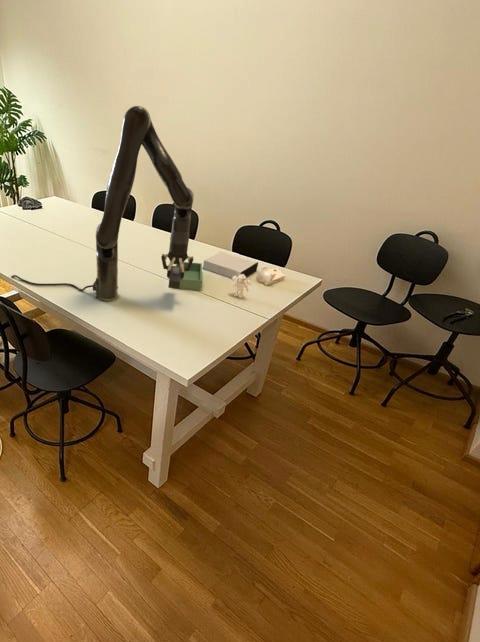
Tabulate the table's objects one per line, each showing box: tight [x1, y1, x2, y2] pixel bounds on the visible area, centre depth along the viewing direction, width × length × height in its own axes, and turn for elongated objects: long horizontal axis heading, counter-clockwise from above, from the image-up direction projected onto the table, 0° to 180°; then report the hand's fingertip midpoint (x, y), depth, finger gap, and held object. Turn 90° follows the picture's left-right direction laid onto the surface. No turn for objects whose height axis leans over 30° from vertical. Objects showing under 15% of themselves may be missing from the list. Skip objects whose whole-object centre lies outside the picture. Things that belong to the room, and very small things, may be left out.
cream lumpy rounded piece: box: [255, 265, 286, 286], centre depth 185 cm, size 13×7×8 cm, turn 124°
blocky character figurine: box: [231, 272, 252, 299], centre depth 169 cm, size 9×4×12 cm, turn 52°
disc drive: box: [202, 251, 259, 279], centre depth 195 cm, size 18×22×5 cm
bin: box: [175, 261, 203, 292], centre depth 184 cm, size 13×21×5 cm, turn 171°
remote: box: [168, 265, 181, 290], centre depth 161 cm, size 5×16×3 cm, turn 171°
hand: (174, 278), depth 161 cm, fingers closed on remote, 4 cm apart
